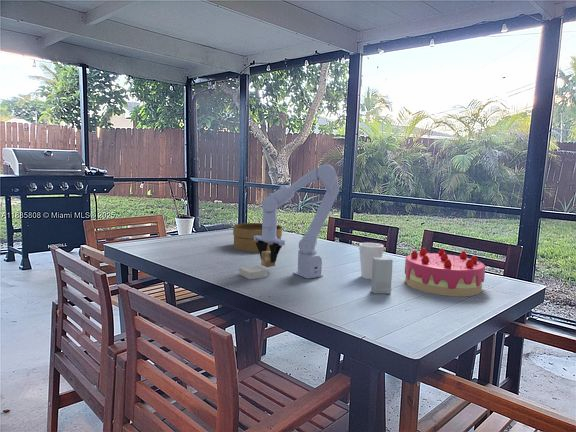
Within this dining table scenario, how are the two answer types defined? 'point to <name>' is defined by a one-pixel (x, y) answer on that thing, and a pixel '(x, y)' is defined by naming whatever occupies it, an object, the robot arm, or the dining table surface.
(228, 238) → the dining table surface
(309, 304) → the dining table surface
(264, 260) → the oak block
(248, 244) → the steamer basket
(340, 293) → the dining table surface
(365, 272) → the foam cup
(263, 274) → the tile block
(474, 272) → the cake
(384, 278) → the skincare box
